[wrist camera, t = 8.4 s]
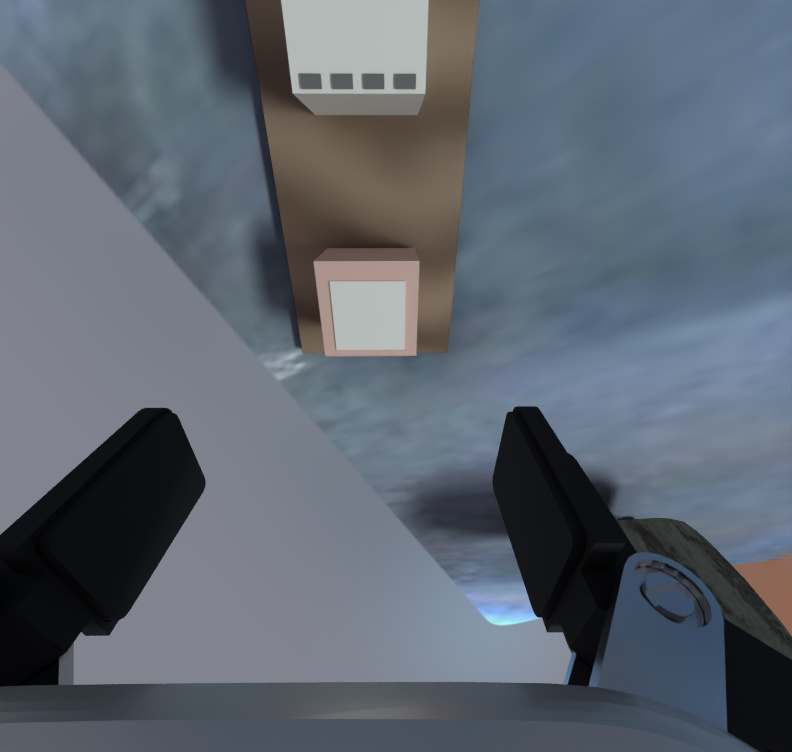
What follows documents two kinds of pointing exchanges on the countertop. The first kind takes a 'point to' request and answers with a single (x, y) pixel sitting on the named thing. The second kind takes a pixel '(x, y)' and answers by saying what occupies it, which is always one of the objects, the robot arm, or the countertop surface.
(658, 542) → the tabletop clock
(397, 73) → the white box with vents
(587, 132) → the countertop surface
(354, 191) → the board
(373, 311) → the stub
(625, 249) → the countertop surface
